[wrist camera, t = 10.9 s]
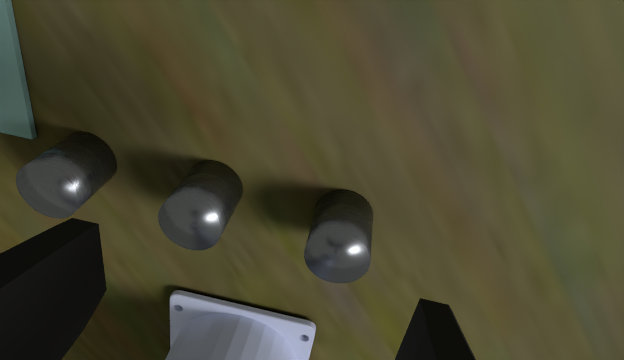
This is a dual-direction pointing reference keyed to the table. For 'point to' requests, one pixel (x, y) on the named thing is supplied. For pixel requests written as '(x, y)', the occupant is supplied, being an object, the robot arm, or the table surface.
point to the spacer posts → (198, 205)
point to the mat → (13, 80)
